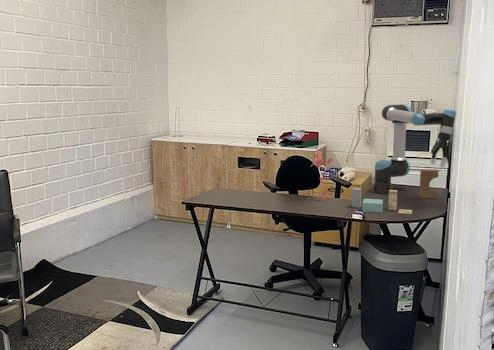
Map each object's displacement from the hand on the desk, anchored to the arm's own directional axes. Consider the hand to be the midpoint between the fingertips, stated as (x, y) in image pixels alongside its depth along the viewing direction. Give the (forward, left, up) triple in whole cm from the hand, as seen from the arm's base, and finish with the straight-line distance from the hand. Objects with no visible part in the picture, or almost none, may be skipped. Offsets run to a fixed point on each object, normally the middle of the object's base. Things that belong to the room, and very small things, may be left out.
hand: (437, 165), depth 299 cm
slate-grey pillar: (+15, -49, -27) cm, 58 cm away
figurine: (-2, -78, -27) cm, 83 cm away
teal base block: (+21, -38, -27) cm, 51 cm away
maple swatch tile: (+22, -18, -27) cm, 39 cm away
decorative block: (-23, -4, -27) cm, 35 cm away
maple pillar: (+16, -26, -27) cm, 41 cm away
